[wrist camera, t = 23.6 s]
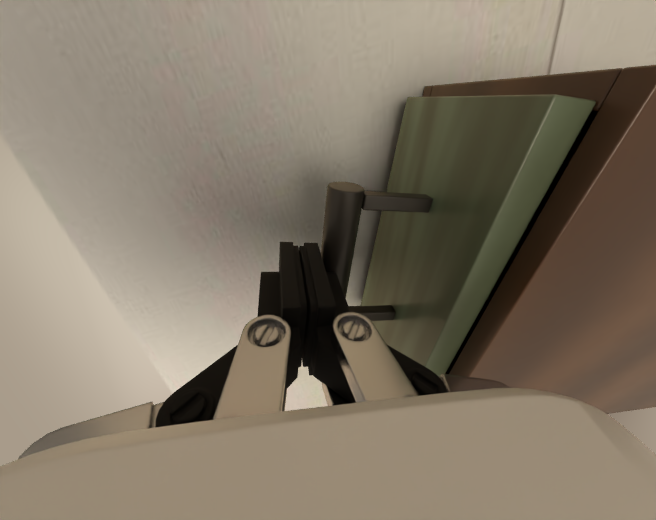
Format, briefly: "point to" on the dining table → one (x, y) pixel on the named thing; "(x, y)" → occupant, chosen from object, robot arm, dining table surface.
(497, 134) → the drawer
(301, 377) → the dining table surface
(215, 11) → the dining table surface
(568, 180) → the cabinet
